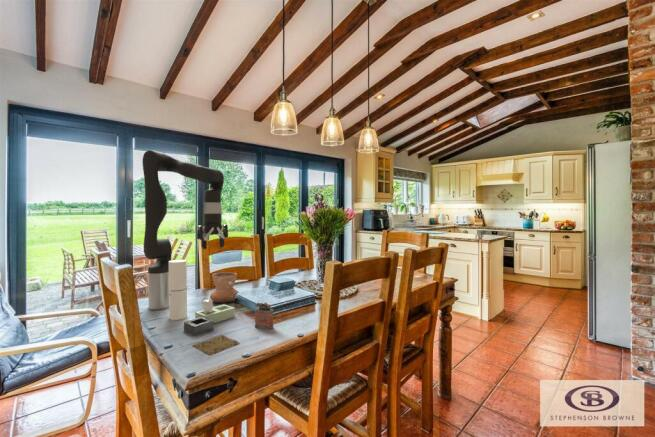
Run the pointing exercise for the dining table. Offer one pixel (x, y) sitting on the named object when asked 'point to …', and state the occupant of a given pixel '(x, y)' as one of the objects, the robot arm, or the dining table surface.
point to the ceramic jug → (224, 287)
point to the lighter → (264, 316)
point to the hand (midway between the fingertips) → (213, 247)
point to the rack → (218, 313)
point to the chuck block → (198, 325)
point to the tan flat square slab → (215, 344)
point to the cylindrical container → (177, 289)
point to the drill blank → (208, 306)
